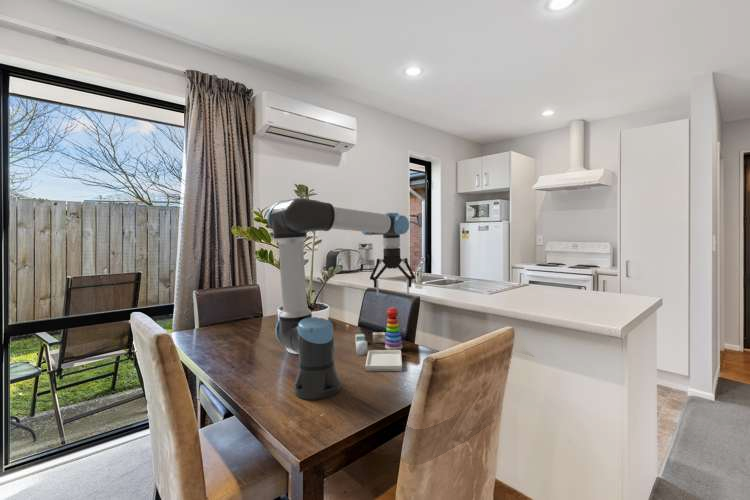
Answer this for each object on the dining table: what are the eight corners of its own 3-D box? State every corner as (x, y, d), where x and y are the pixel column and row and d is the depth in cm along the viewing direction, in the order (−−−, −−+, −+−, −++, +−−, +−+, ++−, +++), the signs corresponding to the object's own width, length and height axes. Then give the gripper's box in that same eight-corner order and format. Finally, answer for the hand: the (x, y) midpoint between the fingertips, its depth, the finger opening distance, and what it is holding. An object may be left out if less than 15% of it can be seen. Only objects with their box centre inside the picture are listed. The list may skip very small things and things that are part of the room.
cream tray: (365, 371, 135) (365, 365, 135) (368, 354, 153) (368, 350, 153) (402, 371, 134) (402, 365, 134) (400, 354, 152) (400, 350, 152)
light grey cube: (355, 355, 153) (355, 344, 152) (356, 351, 158) (356, 340, 157) (367, 355, 152) (366, 343, 152) (367, 351, 157) (367, 340, 157)
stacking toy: (402, 345, 164) (402, 305, 163) (402, 351, 156) (401, 309, 155) (385, 345, 165) (384, 305, 164) (384, 351, 157) (383, 309, 156)
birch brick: (372, 343, 170) (372, 334, 170) (373, 340, 174) (373, 332, 174) (385, 342, 170) (385, 334, 169) (385, 340, 174) (385, 332, 173)
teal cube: (356, 345, 167) (356, 336, 167) (355, 342, 171) (355, 334, 170) (365, 344, 168) (364, 336, 167) (363, 342, 171) (363, 333, 171)
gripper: (419, 246, 161) (420, 292, 162) (364, 247, 162) (365, 293, 164) (420, 247, 154) (421, 295, 155) (363, 248, 155) (364, 296, 156)
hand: (392, 294), depth 159 cm, fingers open, 13 cm apart
